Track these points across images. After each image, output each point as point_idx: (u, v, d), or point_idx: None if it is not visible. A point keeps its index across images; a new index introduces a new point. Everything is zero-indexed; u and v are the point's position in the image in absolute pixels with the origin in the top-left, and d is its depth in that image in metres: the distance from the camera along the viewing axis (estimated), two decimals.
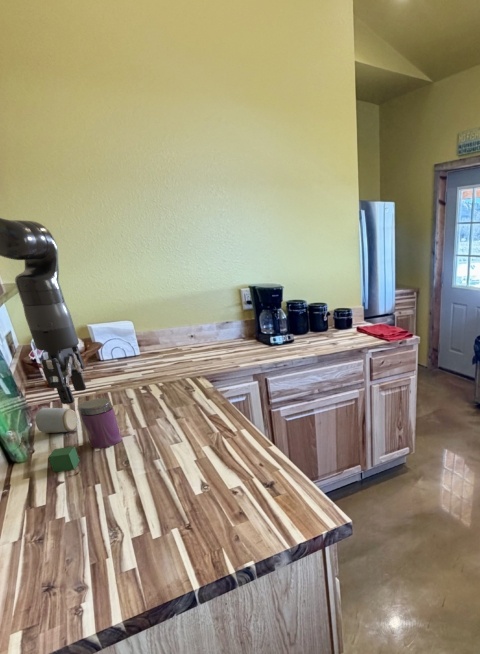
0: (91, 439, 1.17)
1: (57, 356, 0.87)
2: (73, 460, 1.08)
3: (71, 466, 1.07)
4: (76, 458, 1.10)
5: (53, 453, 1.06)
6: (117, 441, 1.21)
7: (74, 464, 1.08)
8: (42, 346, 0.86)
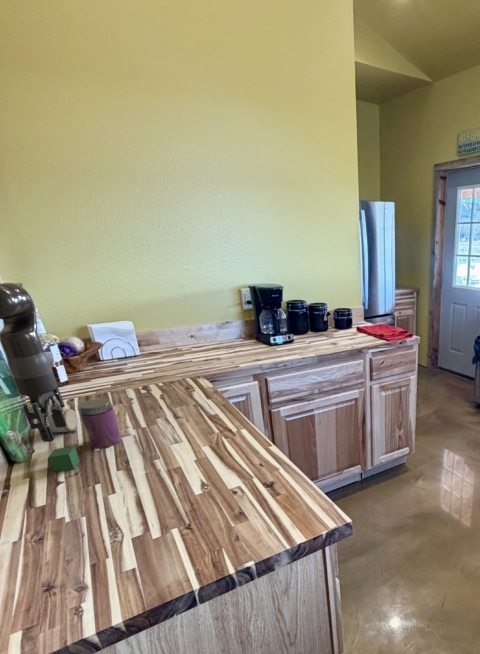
0: (91, 439, 1.17)
1: (38, 400, 0.97)
2: (73, 460, 1.08)
3: (71, 466, 1.07)
4: (76, 458, 1.10)
5: (53, 453, 1.06)
6: (117, 441, 1.21)
7: (74, 464, 1.08)
8: (24, 392, 0.96)
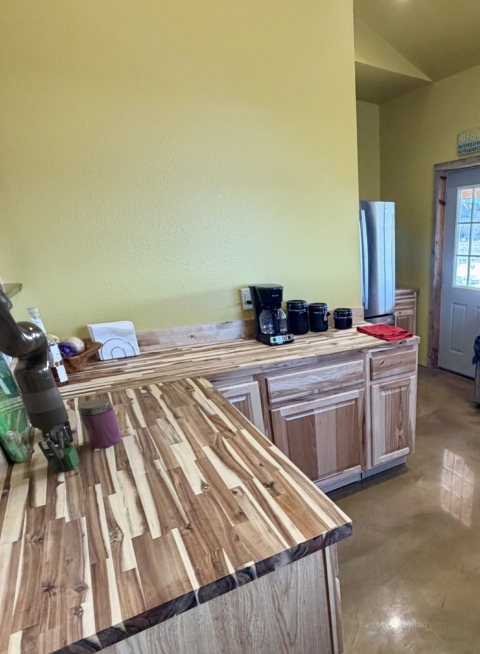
0: (91, 439, 1.17)
1: (50, 434, 1.01)
2: (73, 460, 1.08)
3: (71, 466, 1.07)
4: (76, 458, 1.10)
5: None
6: (117, 441, 1.21)
7: (74, 464, 1.08)
8: (37, 425, 1.00)
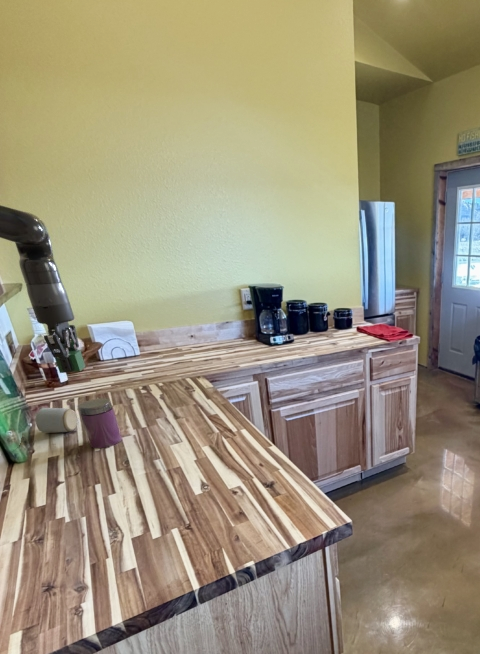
0: (91, 439, 1.17)
1: (55, 330, 1.01)
2: (79, 363, 1.08)
3: (77, 367, 1.07)
4: (82, 362, 1.10)
5: None
6: (117, 441, 1.21)
7: (80, 366, 1.08)
8: (42, 320, 1.00)
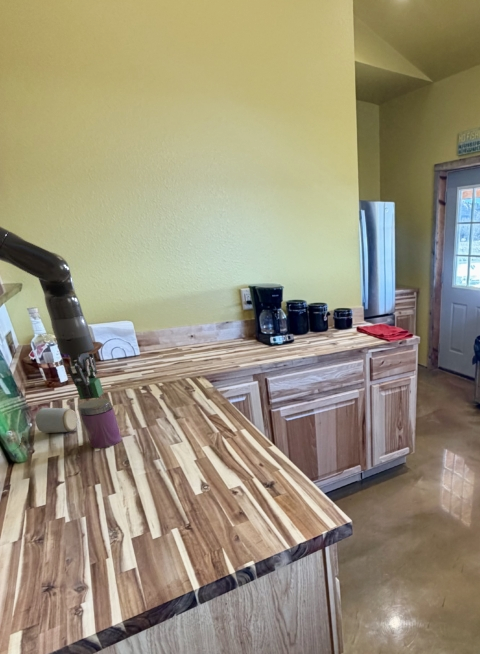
0: (91, 439, 1.17)
1: (77, 360, 1.08)
2: (98, 389, 1.15)
3: (97, 394, 1.14)
4: (100, 388, 1.17)
5: None
6: (117, 441, 1.21)
7: (99, 393, 1.15)
8: (65, 351, 1.07)
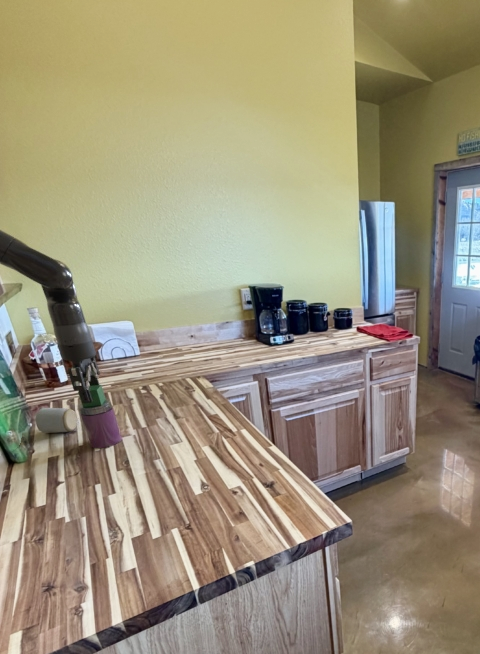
0: (91, 439, 1.17)
1: (79, 365, 1.09)
2: (100, 397, 1.16)
3: (99, 402, 1.15)
4: (103, 396, 1.18)
5: None
6: (117, 441, 1.21)
7: (101, 400, 1.16)
8: (68, 357, 1.08)
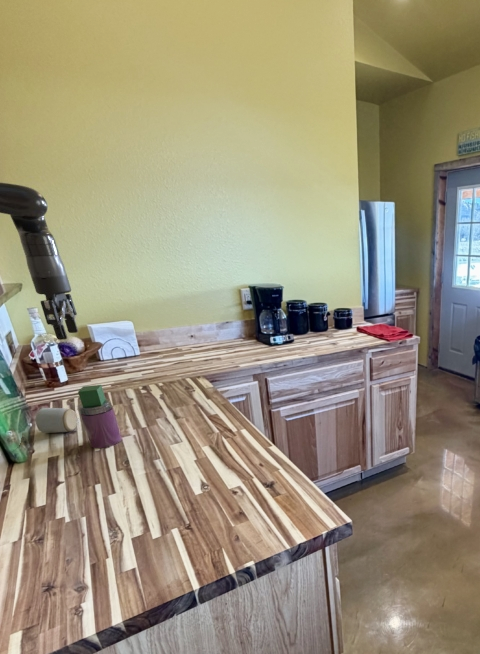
0: (91, 439, 1.17)
1: (53, 299, 1.07)
2: (100, 397, 1.16)
3: (99, 402, 1.15)
4: (103, 396, 1.18)
5: (82, 389, 1.14)
6: (117, 441, 1.21)
7: (101, 400, 1.16)
8: (41, 290, 1.06)
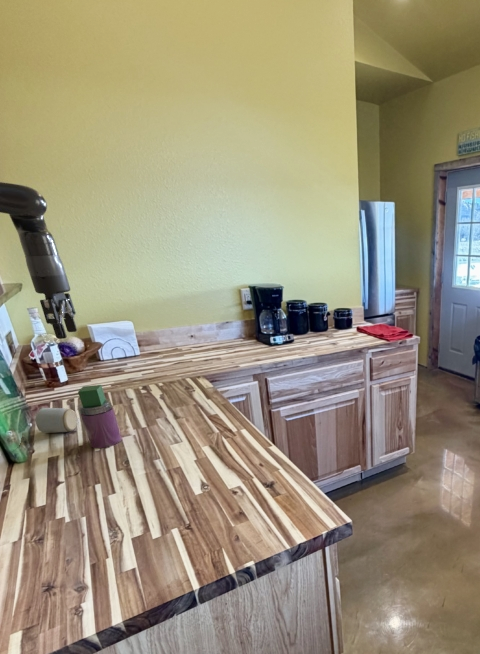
0: (91, 439, 1.17)
1: (52, 298, 1.08)
2: (100, 397, 1.16)
3: (99, 402, 1.15)
4: (103, 396, 1.18)
5: (82, 389, 1.14)
6: (117, 441, 1.21)
7: (101, 400, 1.16)
8: (40, 289, 1.07)
